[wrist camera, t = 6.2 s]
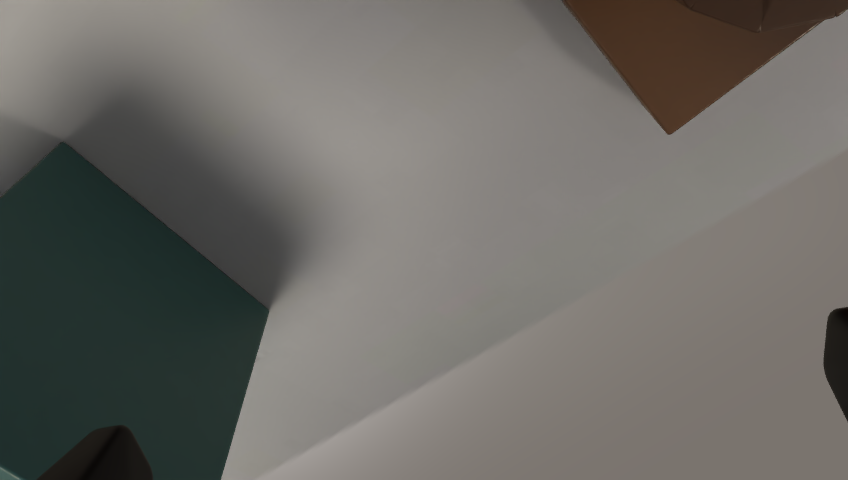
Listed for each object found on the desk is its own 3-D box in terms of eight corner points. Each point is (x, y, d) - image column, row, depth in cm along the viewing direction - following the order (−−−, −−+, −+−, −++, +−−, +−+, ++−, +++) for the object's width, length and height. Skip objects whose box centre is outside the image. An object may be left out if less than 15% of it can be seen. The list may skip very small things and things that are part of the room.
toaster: (270, 310, 24) (191, 586, 15) (86, 461, 27) (-68, 764, 18) (63, 140, 21) (-183, 361, 12) (-118, 332, 24) (-418, 618, 15)
